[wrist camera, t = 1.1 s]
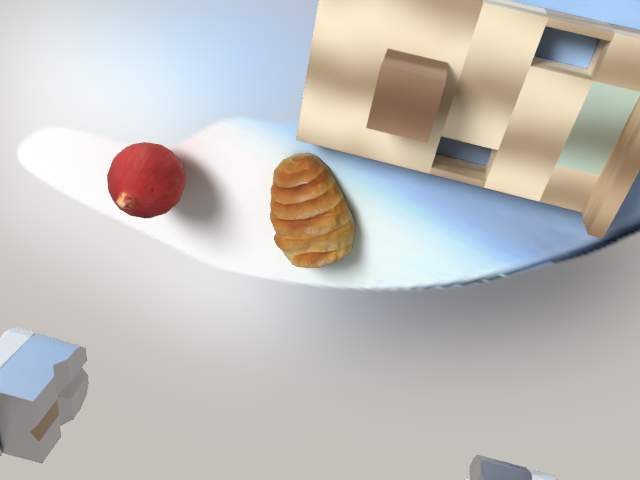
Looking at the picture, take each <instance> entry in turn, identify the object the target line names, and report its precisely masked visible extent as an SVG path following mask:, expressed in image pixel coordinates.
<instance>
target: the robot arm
mask: <svg viewBox="0 0 640 480" xmlns="http://www.w3.org/2000/svg"><path fill="white" fill-rule="evenodd" d="M86 361H87V357H86V349H85V348H83V347H81V346H78V345H74V344H71V343H68V342H64V341H61V340H58V339H55V338H51V337H48V336H45V335H41V334H37V333H34V332H30V331H27V330H24V329H20V328H17V327H14V328H12V329H10V330H8V331H6V332H5V333H4V334H3V335H2V336H1V337H0V456H1V453H5V454H8V455H12V456H16V457H20V458H24V459H28V460H32V461H35V462H39V463H43V461H44V460H45V458H46V457H47V456H48V454H49V453H50V451H51V450H52V448H53V447H54V446H55V444H56V443H57V442H58V440H59V439H60V437H61V432H60V426H61V425H63V424H65V423H67V422H69V421H71V420H73V419H74V417H75V416H76V414H77V413H78V412H79V410H80V409H81V406H82V404H83V402H84V399H85V397H86V394H87V389H88V375H87V374H86V372H85V371H84V370H83V368H82V366H83V364H84V363H85V362H86ZM464 480H557V479H556V478H555V476H553V475H550V474H546V473H542V472H539V471H535V470H531V469H527V468H526V467H522V466H518V465H514V464H510V463H506V462H503V461H499V460H495V459H491V458H487V457H484V456H480V455H477V456H476V457H475V458H474V459H473V461H472V463H471V465H470V477H469V478H467V479H464Z"/></svg>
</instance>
